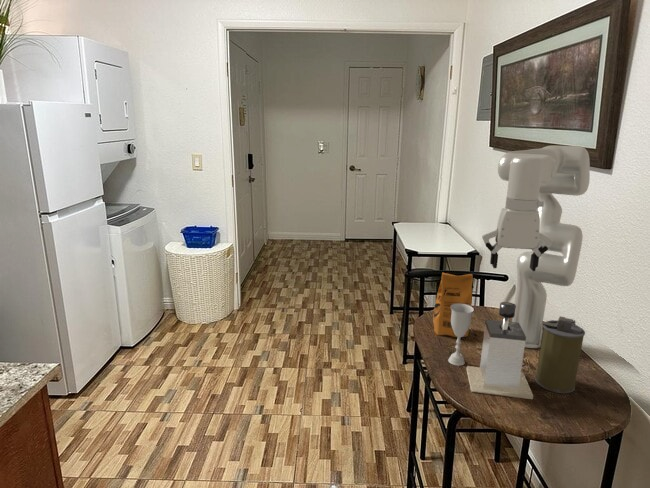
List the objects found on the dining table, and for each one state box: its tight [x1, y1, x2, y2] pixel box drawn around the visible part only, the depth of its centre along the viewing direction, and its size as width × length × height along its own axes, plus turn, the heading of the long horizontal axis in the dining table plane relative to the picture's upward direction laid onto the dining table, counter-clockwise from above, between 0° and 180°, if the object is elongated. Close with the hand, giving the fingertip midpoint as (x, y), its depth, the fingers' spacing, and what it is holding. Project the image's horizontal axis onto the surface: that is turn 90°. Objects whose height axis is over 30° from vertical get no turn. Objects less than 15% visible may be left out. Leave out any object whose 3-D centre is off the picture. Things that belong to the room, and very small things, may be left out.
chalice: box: [447, 303, 474, 367], centre depth 136 cm, size 7×7×18 cm
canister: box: [534, 316, 586, 394], centre depth 124 cm, size 11×10×20 cm
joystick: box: [465, 319, 534, 400], centre depth 124 cm, size 16×12×17 cm
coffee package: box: [432, 272, 474, 338], centre depth 156 cm, size 10×12×22 cm
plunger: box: [498, 301, 516, 330], centre depth 123 cm, size 6×6×22 cm
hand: (513, 268), depth 118 cm, fingers open, 9 cm apart
